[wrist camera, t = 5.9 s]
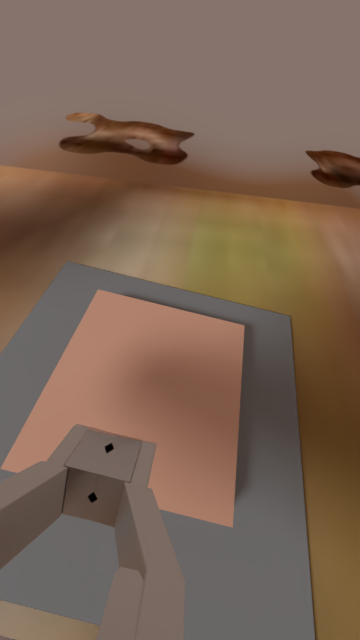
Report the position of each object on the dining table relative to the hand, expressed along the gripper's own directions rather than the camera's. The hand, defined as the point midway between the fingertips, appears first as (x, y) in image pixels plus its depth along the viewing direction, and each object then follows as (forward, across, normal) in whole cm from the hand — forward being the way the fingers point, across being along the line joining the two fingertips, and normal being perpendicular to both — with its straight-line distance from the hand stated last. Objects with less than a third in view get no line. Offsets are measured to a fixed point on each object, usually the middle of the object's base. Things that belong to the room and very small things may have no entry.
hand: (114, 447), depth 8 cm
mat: (+10, 0, +4) cm, 11 cm away
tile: (+4, 0, +8) cm, 9 cm away
